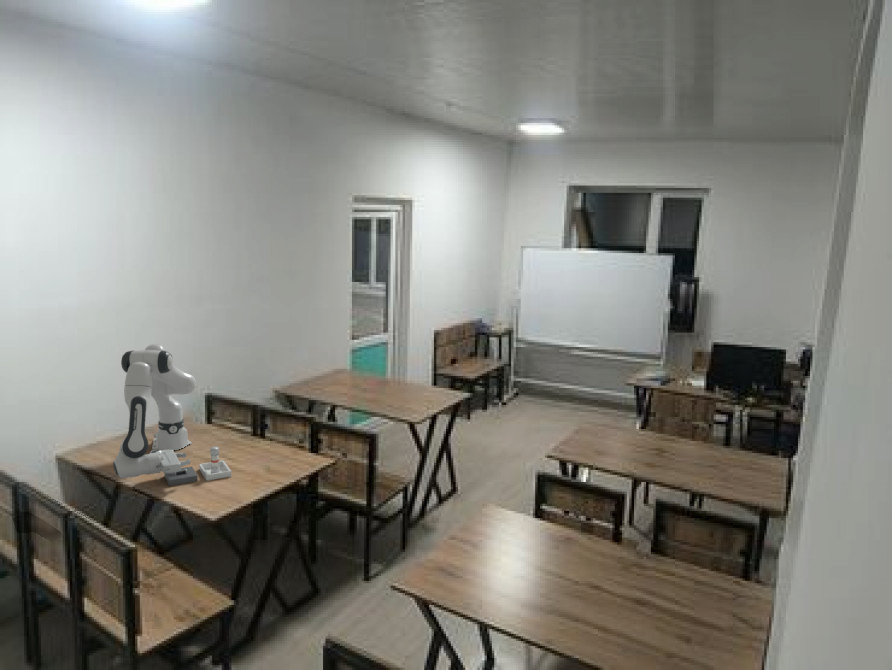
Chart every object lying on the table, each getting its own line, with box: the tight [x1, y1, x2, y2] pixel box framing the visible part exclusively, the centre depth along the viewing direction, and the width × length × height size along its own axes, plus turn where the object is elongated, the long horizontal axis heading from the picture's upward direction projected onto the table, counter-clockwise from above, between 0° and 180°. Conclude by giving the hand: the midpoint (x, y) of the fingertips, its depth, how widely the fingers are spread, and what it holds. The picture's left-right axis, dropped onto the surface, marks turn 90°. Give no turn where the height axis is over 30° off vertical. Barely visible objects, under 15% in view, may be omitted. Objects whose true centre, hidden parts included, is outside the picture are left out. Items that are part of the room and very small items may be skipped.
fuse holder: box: [163, 466, 199, 487], centre depth 295 cm, size 12×12×5 cm
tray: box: [198, 460, 232, 482], centre depth 303 cm, size 15×11×4 cm
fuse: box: [209, 446, 220, 474], centre depth 302 cm, size 4×4×12 cm
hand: (188, 458), depth 295 cm, fingers open, 8 cm apart
